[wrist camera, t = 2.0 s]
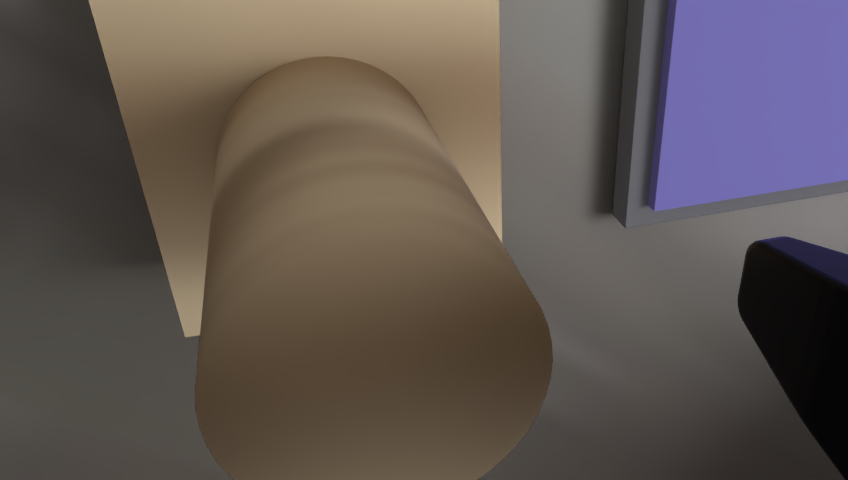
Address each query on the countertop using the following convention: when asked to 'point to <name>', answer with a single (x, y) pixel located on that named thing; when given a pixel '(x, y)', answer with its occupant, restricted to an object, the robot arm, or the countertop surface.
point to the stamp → (334, 229)
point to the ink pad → (730, 106)
